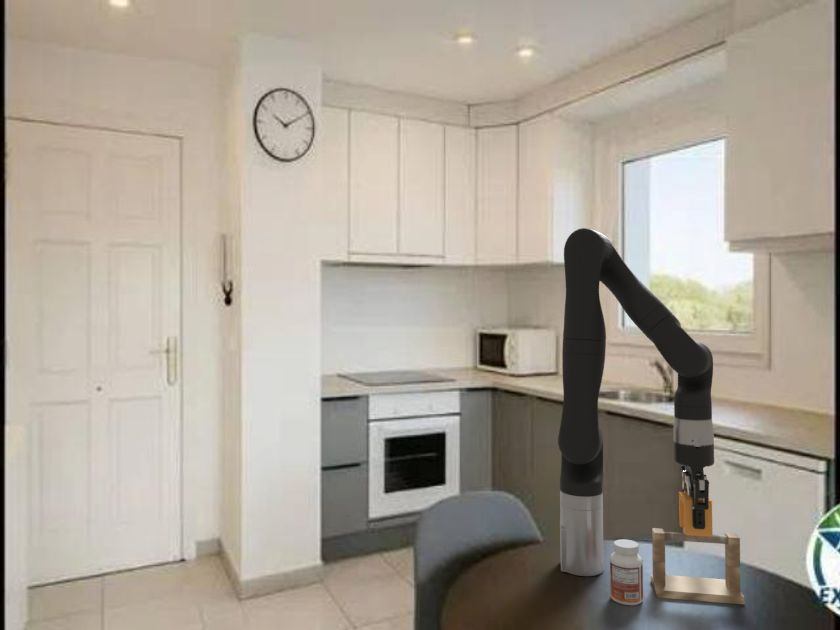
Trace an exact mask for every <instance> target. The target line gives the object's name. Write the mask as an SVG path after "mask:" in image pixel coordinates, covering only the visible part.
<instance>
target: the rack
mask: <svg viewBox="0 0 840 630" xmlns="http://www.w3.org/2000/svg"><path fill="white" fill-rule="evenodd" d="M651 529H652V531H651V534H652V535H651V537H652V538H651V539H652V545H651V546H652V548H651V549H652V551H651V552H652V573H650V582H651V584H652V587H653V590H654V592H655V595H656V598H659V599H671V600H672V599H673V600H685V601H686V600H687V601H696V602H710V603H720V604H722V603H723V604H733V605H734V604H735V605H745V596H744V594H743V593H742V590H741V543H740V542H741V538H740V536H739V535H738V534H737V533H736V532H726V531H725V532H724V535H722V534H713V537H709V536H691V535H685V534H684V532H676V531H675V532H672V531H665V530H664V529H663V528H657V527H653V528H651ZM666 541H673V542H675V541H676V542H689V543H702V544H703V543H704V544H705V543H706V544H719V545H720V544H722V545H723V544H724V557H725V558H724V566H725V567H724V568H725V569H724V570H725V573H724V574H725V577H724V579H723V578H712V577H711V578H710V577H699V576H683V575H672V574H666Z"/></svg>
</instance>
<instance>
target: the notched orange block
mask: <svg viewBox="0 0 840 630" xmlns="http://www.w3.org/2000/svg"><path fill="white" fill-rule="evenodd" d="M693 493H694V492H693ZM698 503H702V499H701V498H698ZM691 505H692V500H691V498H689V497H688V493H686V492H682V491H678V511H679V512H678V515H679V517H678V518H679V527H680V528H683V530H684V531H683V533H684V534H685V535H691V536H709V537H713V535H714V534H713V500H711V498H710V497H709V504H708V505H709V508H708V510H705V528H704V529H695V528H694V527H693V520H692V507H691Z"/></svg>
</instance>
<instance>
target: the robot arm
mask: <svg viewBox="0 0 840 630" xmlns="http://www.w3.org/2000/svg"><path fill="white" fill-rule="evenodd" d="M563 262H564V263H563V264H564V276H565V277H564V280H565V299H564V302H565V303H564V315H563V317H564V318H563V321H564V322H563V333H562V348H561V349H562V350H561V351H562V354H561V355H562V359H561V360H562V362H561V363H562V387H563V404H562V412H561V420H560V425H559V432H558V437H557V445H558V449H559V451H560V453H561V456H560V457H561V458H560V459H561V464H560V465H561V466H560V475H559V490H560V491H559V499H560V500H559V505H560V506H559V507H560V508H559V513H560V514H559V515H560V518H559V531H560V532H559V533H560V534H559V535H560V537H559V538H560V541H559V542H560V545H559V546H560V572H561V573H562V572H563V573H568V574H571V575H574V576H579V577H580V576H582V577H594V576H598V575H601V574H602V573H603V572H604V562H605V561H604V506H603V503H604V500H603V499H604V496H603V495H604V493H603V492H604V491H603V490H604V489H603V486H604V485H603V483H604V481H603V480H604V437H603V432H602V430H601V427H600V426H599V411H598V409H599V396H600V391H601V385H602V380H603V375H604V369H605V362H606V361H605V360H606V350H607V345H606V344H607V341H606V340H607V335H606V333H607V332H606V330H607V329H606V323H605V317H604V314H603V309H602V304H601V299H600V282H601V283H602V285H604V286H605V287H606V288H607V289H608V290H609V291H610V292H611V294H612V295H613V296H614V297H615V299H616V300H617V301H618V303H619V304H620V306H621V307H622V309H623V310H624V312H625V314H627V316H628V317H629V319H630V320H631V321H632V322H633V324H635V326H636V327H637V328H638V329H639V330H640V331H641V333H643V334H644V335H645V337H646V338H647V339H648V340H650V341H651V342H652V343H653V344H654V347H656V349H657V351H658V352H659V354H660V355H661V356H662V358H663V359H664V361H665V362H666V363H667V365H668V366H669V367H670V368H672V369H673V371H674V372H675V373H677V389H676V391H675V392H674V398H673V399H674V400H673V402H674V403H673V406H674V407H673V411H674V412H673V413H674V414H673V415H674V419H673V429H672V430H673V431H672V432H673V461H674V462H675V463H676V464H677V465H680V471H681V492H686V493H688V497H689V498H691V500H692V505H691V507H692V520H693V527H694V528H695V529H704V528H705V510H708V508H709V505H708V504H709V498H710V496H709V494H710V493H709V492H710V491H709V489H710V482H709V479H708V477H707V474H705V473H704V468H705V467H711V466H713V465H715V440H714V438H715V433H714V431H715V430H714V423H713V410H712V409H713V406H712V405H713V403H712V385H713V373H714V357H713V353H712V352H711V349H710V348H709V347H708V346H707V345H706V344H704V343H702V342H700V341H695V340H694V339H693V338H692V337H691V336H690V334H689V333H687V331H686V330H685V329H684V328H683V327H682V325H681V322H680V320H679V319H678V318H677V317H676V315H675V314H673V312H671V310H670V309H669V308H668V307H667V306H666V305H665V304H664V303H663V302H662V301H661V300H660V299H659V298H658V297H657V296H656V295H655V294H654V293H653V292H652V291H651V290H650V289H649V288H648V287H647V286H646V285H644V283H643V282H642V281H641V280H640V279H639V278H638V277H637V276H636V274H634V273H633V271H632V270H631V269H630V268H629V266H628V265H627V264H626V263H625V261H624V260H623V259H622V256H620V254H619V252H618V251H617V250H616V248H615V246H614V245H613V243H612V242H611V240H610V239H609V237H608V236H606V235H605V234H603V233H601V232H600V231H596V230H595V229H591V228H587V227H585V228H584V227H583V228H578V229H576V230H574V231H573V232H572V233H571V234H570V235H569V236H568V237H567V239H566V241H565V244H564V246H563ZM693 492H694V493H693ZM698 498H701V499H702V503H698Z"/></svg>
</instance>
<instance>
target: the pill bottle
mask: <svg viewBox="0 0 840 630" xmlns="http://www.w3.org/2000/svg"><path fill="white" fill-rule="evenodd" d="M639 547H640V546H639V543H638V542H637V541H635V540H631V539H617V540H614V541H613V550H614V551H613V552H612V553H611V555H610V558H609V569H610V570H609V572H610V573H609V574H610V577H609V578H610V580H609V581H610V582H609V584H610V597H611V600H613V601H614V602H616V603H618V604H620V605H625V606H637V605H639V604H641V603H642V602H643V600H644V575H643V574H644V573H643V572H644V567H643V566H644V565H643V559H642V557H641V555H639Z"/></svg>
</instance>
